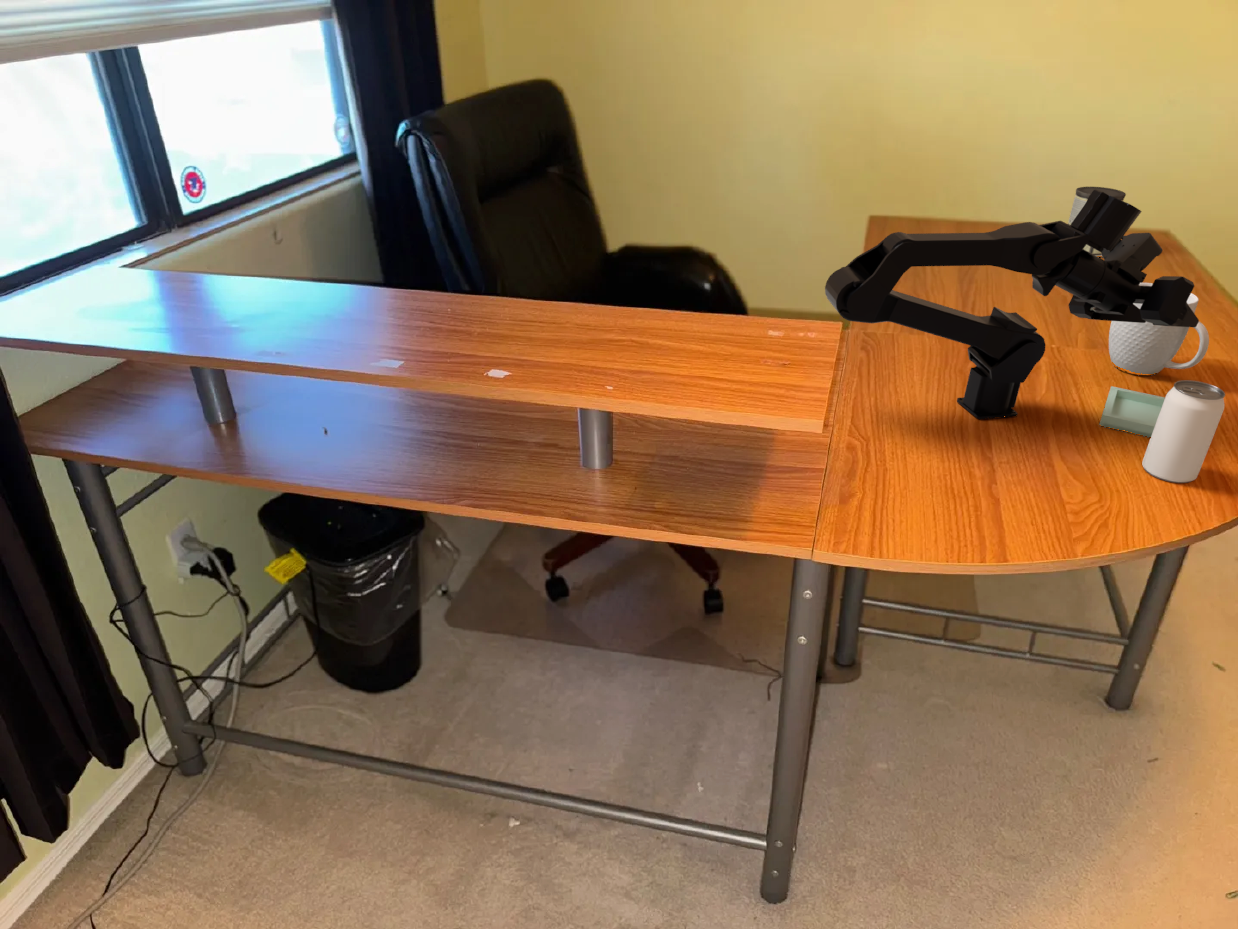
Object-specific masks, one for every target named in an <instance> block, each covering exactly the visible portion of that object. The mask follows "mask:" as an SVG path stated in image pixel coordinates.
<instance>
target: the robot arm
mask: <svg viewBox="0 0 1238 929" xmlns="http://www.w3.org/2000/svg"><path fill="white" fill-rule="evenodd" d="M1141 213H1142V210H1141V209H1139V208H1137V207H1136V206H1134V205H1133V204H1130V203H1128V202H1127V201H1125V200H1123V201H1121V200H1119V199H1117V198H1114V197H1112V196H1110V195H1107V194H1106V193H1104V192H1102V191H1099V190H1097V189H1095V190H1093V192H1092V193H1091V194H1090V196H1089V197H1088V199H1087V202H1086V204H1085V205H1084V206H1083V208H1082V209H1081V211H1080V212H1079V213H1078V215H1077V216H1076V218H1075V219H1074V220H1073V222H1072V223H1071V226H1070V225H1069V224H1068V222H1064V221H1062V220H1057V221H1052V222H1047V223H1042V224H1038V223H1036V222H1031V221H1028V222H1027V221H1026V222H1021V223H1016V224H1010V225H1005V226H1001V227H1000V228H998V229H996V230H992V231H987V232H954V233H953V232H949V233H947V232H944V233H943V232H942V233H941V232H939V233H938V232H937V233H934V232H933V233H906V232H905V233H904V232H902V231H896V232H893V233H889V235H887V236H885V237H884V239H883V240H881V241H880V242H879V243H878V244H877V245H875V246H873V247H871V248H870V249H868V250H866V251H864V252H863V253H861V254H859V255H857V256H856V257H854V258H853V259H852V260H851V261H850V262H849V263H848V264H847V265H846V266H842V267H840V268H839V269H837V270H835V271H834V272H833V273H832V274H830V275H829V277H828V279H827V281H826V283H825V286H824V294H825V296H826V299H827V301H828V302H829V303H830V304H831V306H832V307H833V308H834V309H835V311H836V312H837V313H838V314H839V315H840V317H841V318H843V319H844V320H846V321H849V322H855V323H856V322H857V323H864V324H880V323H887V322H888V323H894V324H897V325H900V326H902V327H903V326H904V327H907V328H910V329H913V330H916V331H920V332H923V333H927V334H930V335H933V336H937V337H940V338H943V339H947V340H951V341H954V342H957V343H960V344H963V345H968V347H967V354H968V359H969V361H970V362H972V363H973V364H974V365H975V367H970V370H969V374H968V380H967V384H966V388H965V392H964V395H963V397H957V398H956V402H957V403H958V404H959V405H961V406H962V407H963V408H964V409H965V410H966V411H967V412H969V413H970V414H971V415H972V416H974V418H976V419H979V420H987V419H988V418H989V419H996V418H995V417H1003V418H1009V417H1008V416H1016V415H1017V416H1018V412H1017V411H1016V410H1015V409H1014V407H1015V406H1016V402H1017V398H1018V395H1019V392H1020V387H1021V383H1024V382H1025V381H1026V380H1027V379H1028V376H1029V375H1030V374H1031V372H1032V370H1033V369H1034V368H1035V366H1036V365H1037V364H1038V363H1039V362H1040V361H1041V360H1042V358H1043V357H1044V354H1045V353H1046V352H1045V351H1046V346H1047V344H1046V341H1045V338H1044V337H1043V336H1042V335H1041V334H1039V332H1037V330H1038V328H1037V327H1036V326H1034V325H1033V324H1032V323H1030V322H1029V321H1028V320H1027V319H1025V318H1024V317H1022V316H1021V314H1018V312H1007V311H1004V310H1001V309H1000V308H998V307H996V306H994V307H993V308H992V311H991V314H989V315H982V316H981V315H976V314H972V313H970V312H969V313H968V312H965V311H962V310H958V309H956V308H952V307H949V306H945V305H942V304H939V303H936V302H932V301H929V300H926V299H923V298H919V297H916V296H913V295H911V294H906V293H903V292H900V291H896V290H894V288H895V286H896V285H898V284H897V283H898V282H899V280H900V279H901V278H902V277H903V275H904V274H905V273H906V272H907V271H908V270H910V269H911V268H912V267H962V266H963V267H972V266H973V267H974V266H976V267H977V266H978V267H979V266H980V267H981V266H982V267H984V266H991V267H998V268H1001V269H1004V270H1009V271H1013V272H1016V273H1022V274H1027V275H1031V279H1032V285H1031V286H1032V289H1033V290H1035V291H1036V292H1037V293H1039V294H1040V295H1042V296H1043V297H1047V296H1048V295H1050V293H1051V291H1052V290H1053V289H1054V288H1055V286H1056V287H1058V288H1060V289H1061V290H1063V291H1065V292H1067V293H1070V294H1071V295H1072V296H1071V299H1070V300H1069V303H1068V309H1069V313H1070V314H1072V315H1074V316H1075V317H1077V318H1081V319H1087V320H1094V321H1105V322H1106V321H1108V322H1111V321H1122V322H1137V323H1145V322H1146V321H1147V322H1150V323H1153V325H1160V326H1177V327H1189V328H1193V327H1196V326H1197V324H1198V322H1200V320H1199V317H1197V315H1196V313H1195V314H1194V312H1193V311H1192V310H1191V308H1190V307H1189V305H1188V304H1187V300H1188V298H1189V296H1190V294H1191V293H1192V292H1193V290H1194V288H1195V283H1194V282H1193V281H1191V280H1190V279H1188V278H1187V277H1184V276H1180V275H1178V276H1177V275H1176V276H1175V275H1174V276H1172V275H1169V276H1168V275H1163V276H1161V277H1160V276H1159V277H1157V278H1156V279H1154V281H1153V284H1152V286H1139V284H1140V283H1144V281H1145V279H1146V277H1147V273H1145V272H1144V270H1145V269H1146V268H1147V267H1148V266H1149V265H1150V264H1151V263H1152V262H1153V261H1154V260H1155V259H1156V257H1159V256H1160V255H1161V254H1162V253H1163V248H1162V247H1161V246H1160V244H1159V243H1158V241H1157V240H1156V239H1155V238H1154V236H1153V234H1152V233H1150V232H1134V233H1129V234H1127V232H1128V231H1129V229H1130V228H1131V227H1132V225H1133V224H1134V223H1135V221H1136V220H1137V218H1138V217H1139V216H1140V214H1141ZM1126 234H1127V235H1126ZM1086 245H1088V246H1090V247H1092V248H1094V249H1096V250H1098V251H1099V252H1101V253H1102V257H1101V258H1099V257H1097V256H1095V255H1093V254H1091V253H1089V252H1088V251H1086V250H1084V249H1083V248H1084V247H1085V246H1086ZM1102 258H1103V259H1102ZM1133 303H1139V304H1142V306H1141V308H1140V309H1139V308H1138V307H1136V306H1135V305H1134V304H1133ZM1004 416H1005V417H1004ZM1017 416H1016V417H1017ZM985 418H986V419H985ZM989 419H988V420H989Z"/></svg>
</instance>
